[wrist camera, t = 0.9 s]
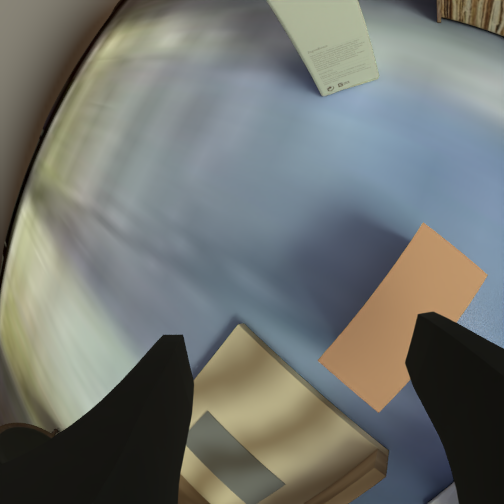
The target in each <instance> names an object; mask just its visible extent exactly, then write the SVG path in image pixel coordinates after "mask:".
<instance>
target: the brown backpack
mask: <svg viewBox="0 0 504 504" xmlns="http://www.w3.org/2000/svg"><path fill="white" fill-rule="evenodd" d="M57 432H58V430H57V429H54V431H53V432H52V433H49V432H48V431H46V430H44V429H42V428H39V427H37V426H34V425H30V424H25V423H9V424H5V425H2V426H0V464H3V463H5V462H8V461H10V460H12V459H14V458H17V457H19V456H21V455H23V454H25V453H27V452H29V451H31V450H33V449H34V448H36V447H38V446H40V445H42V444H43V443H45V442H46V441H48V440H50V439H51V438H53V437H54V436H55V434H56V433H57Z"/></svg>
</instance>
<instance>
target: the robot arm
mask: <svg viewBox="0 0 504 504" xmlns="http://www.w3.org/2000/svg"><path fill="white" fill-rule="evenodd" d="M405 365H406V368H407V371H408V373H409V376H410V379H411V381H412V384H413V387H414V389H415V391H416V393H417V395H418V397H419V399H420V400H421V402H422V404H423V406H424V408H425V410H426V412H427V414H428V416H429V418H430V419H431V421H432V423H433V425H434V427H435V429H436V431H437V433H438V435H439V437H440V439H441V442H442V444H443V446H444V449H445V452H446V455H447V458H448V461H449V464H450V467H451V471H452V475H453V478H454V483H452V484H451V485H450V486H449V487H448V488H446V489H445V490H444V491H443V492H441V493H440V494H439V495H438V496H436V497H435V498H434V499H432V500H431V501H430V502H429V503H427V504H504V349H503V348H501V347H499V346H497V345H496V344H494V343H492V342H490V341H488V340H486V339H484V338H483V337H481V336H479V335H477V334H475V333H474V332H472V331H470V330H468V329H467V328H465V327H463V326H461V325H459V324H458V323H456V322H454V321H452V320H450V319H448V318H446V317H444V316H442V315H440V314H438V313H436V312H427V313H421V314H418V315H417V319H416V324H415V328H414V331H413V335H412V339H411V343H410V346H409V350H408V354H407V357H406V360H405ZM193 396H194V381H193V377H192V373H191V368H190V364H189V360H188V355H187V351H186V346H185V342H184V337H183V335H163V336H162V337H161V338H160V339H159V340H158V341H157V342H156V343H155V344H154V345H153V347H152V348H151V349H150V350H149V351H148V352H147V353H146V354H145V356H144V357H143V358H142V359H141V360H140V361H139V362H138V363H137V365H136V366H135V367H134V368H133V369H132V370H131V371H130V372H129V373H128V374H127V375H126V376H125V378H124V379H123V380H122V381H121V382H120V383H119V384H118V385H117V386H116V387H115V388H114V389H113V390H112V391H111V392H110V393H109V394H108V395H106V396H105V397H104V398H103V399H102V400H101V401H100V402H99V403H98V404H97V405H96V406H95V407H93V408H92V409H91V410H90V411H89V412H87V413H86V414H85V415H84V416H82V417H81V418H80V419H79V420H77V421H76V422H75V423H73V424H72V425H71V426H69V427H68V428H66V429H65V430H63V431H62V432H60V433H59V434H57V435H56V436H54V437H53V438H51V439H50V440H48V441H46V442H45V443H43V444H42V445H40V446H38V447H36V448H34V449H33V450H31V451H29V452H27V453H25V454H23V455H21V456H19V457H17V458H14V459H12V460H10V461H8V462H5V463H3V464H0V504H178V493H179V481H180V474H181V468H182V463H183V458H184V453H185V448H186V443H187V438H188V432H189V427H190V422H191V417H192V410H193Z"/></svg>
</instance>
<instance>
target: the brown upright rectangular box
mask: <svg viewBox="0 0 504 504" xmlns="http://www.w3.org/2000/svg"><path fill="white" fill-rule="evenodd" d="M441 17H443V18H447V19H451V20H455V21H458V22H462V23H465V24H469V25H472V26H475V27H478V28H481V29H484V30H487V31H490V32H493V33H496V34H499V35H501V36H504V0H437V22H438V23H441Z"/></svg>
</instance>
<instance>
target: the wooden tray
mask: <svg viewBox="0 0 504 504" xmlns="http://www.w3.org/2000/svg"><path fill="white" fill-rule="evenodd" d="M388 455H389V450H387V449H386V448H385V447H384V446H382V445H381V444H380V443H379V442H377V441H376V440H375V439H374V438H372V437H371V436H370V435H369V434H367V433H366V432H365V431H364V430H363V429H361V428H360V427H359V426H358V425H357V424H355V423H354V422H353V421H352V420H351V419H349V418H348V417H347V416H346V415H345V414H343V413H342V412H341V411H340V410H339V409H338V408H336V407H335V406H334V405H333V404H332V403H331V402H329V401H328V400H327V399H326V398H325V397H324V396H323V395H321V394H320V393H319V392H318V391H317V390H316V389H315V388H313V387H312V386H311V385H310V384H309V383H308V382H307V381H306V380H304V379H303V378H302V377H301V376H300V375H299V374H298V373H297V372H296V371H294V370H293V369H292V368H291V367H290V366H289V365H288V364H287V363H286V362H284V361H283V360H282V359H281V358H280V357H279V356H278V355H277V354H276V353H275V352H274V351H273V350H271V349H270V348H269V347H268V346H267V345H266V344H265V343H264V342H263V341H262V340H261V339H260V338H259V337H258V336H257V335H255V334H254V333H253V332H252V331H251V330H250V329H249V328H248V327H247V326H246V325H245V324H244V323H243V324H238V325H237V327H236V328H235V329H234V330H233V332H232V333H231V334H230V335H229V337H228V338H227V339H226V341H225V342H224V343H223V344H222V346H221V347H220V348H219V349H218V351H217V352H216V353H215V354H214V356H213V357H212V358H211V360H210V361H209V362H208V363H207V365H206V366H205V367H204V368H203V370H202V371H201V372H200V373H199V374H198V376H197V377H196V378H195V379H194V396H193V410H192V417H191V422H190V427H189V432H188V438H187V443H186V448H185V453H184V458H183V463H182V468H181V474H180V481H179V493H178V504H348V503H350V502H351V501H353V500H354V499H356V498H357V497H359V496H360V495H362V494H363V493H364V492H366V491H367V490H369V489H370V488H371V487H373V486H374V485H376V484H377V483H378V482H380V481H381V480H382V479H383V478H385V477H386V473H387V464H388Z"/></svg>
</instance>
